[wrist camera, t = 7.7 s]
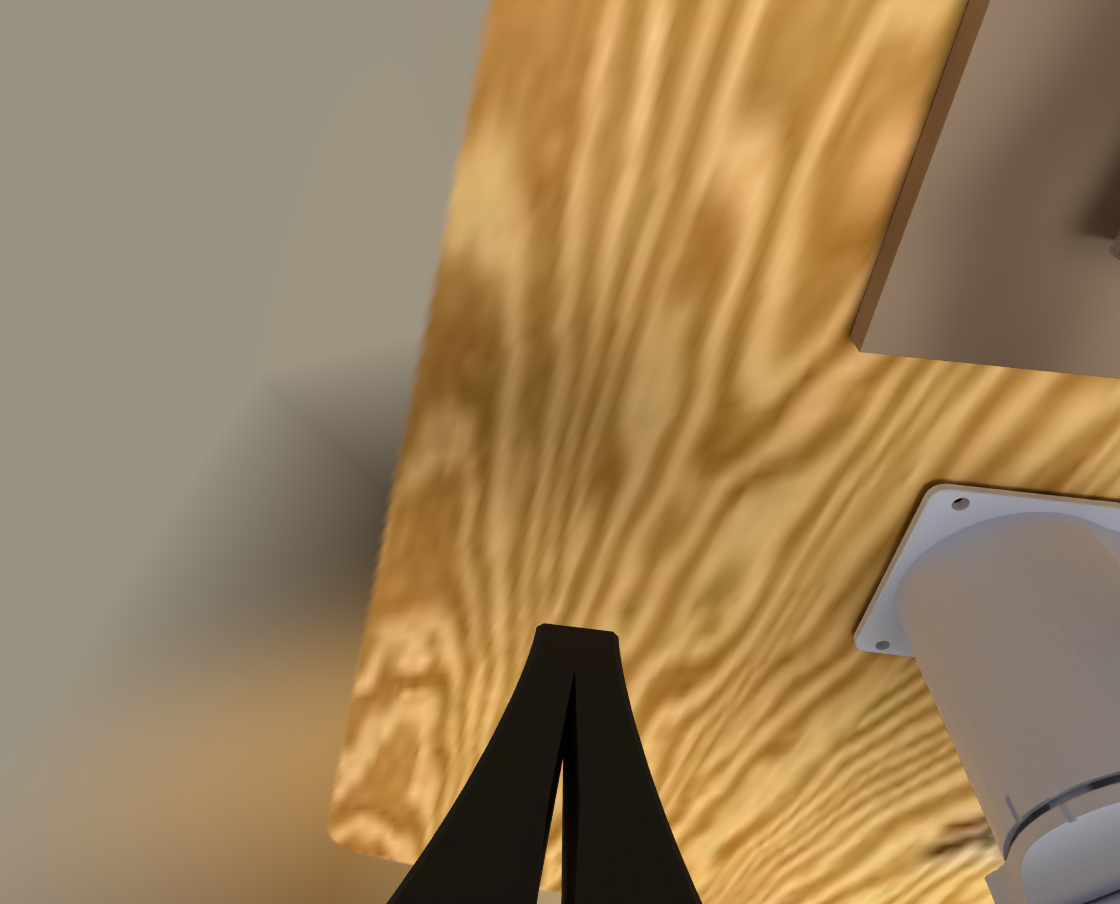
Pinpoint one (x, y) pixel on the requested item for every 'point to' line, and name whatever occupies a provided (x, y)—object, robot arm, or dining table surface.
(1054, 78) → the board
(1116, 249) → the roller
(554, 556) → the dining table surface
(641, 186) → the dining table surface
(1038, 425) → the dining table surface
